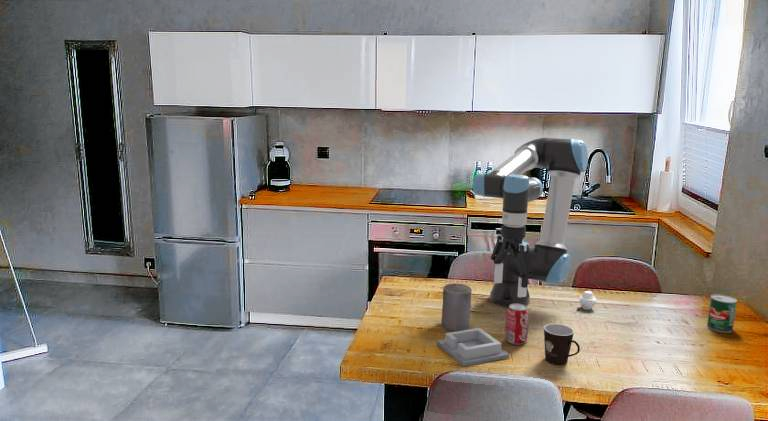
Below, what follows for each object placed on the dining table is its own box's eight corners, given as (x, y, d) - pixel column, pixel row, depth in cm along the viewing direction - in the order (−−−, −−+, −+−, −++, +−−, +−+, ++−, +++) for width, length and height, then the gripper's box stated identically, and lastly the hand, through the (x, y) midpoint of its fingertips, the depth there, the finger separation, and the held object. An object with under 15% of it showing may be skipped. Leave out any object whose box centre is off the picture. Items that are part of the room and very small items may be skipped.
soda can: (527, 338, 184) (530, 304, 182) (525, 347, 178) (528, 312, 175) (506, 335, 187) (508, 301, 184) (503, 344, 180) (505, 308, 178)
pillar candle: (440, 319, 199) (442, 279, 196) (468, 320, 199) (470, 280, 195) (442, 331, 189) (444, 289, 186) (471, 332, 189) (473, 289, 186)
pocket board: (480, 336, 185) (481, 325, 184) (508, 357, 171) (509, 344, 170) (437, 344, 179) (437, 332, 178) (463, 366, 165) (463, 353, 164)
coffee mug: (537, 354, 173) (539, 324, 171) (564, 353, 174) (567, 323, 172) (551, 372, 162) (554, 340, 160) (580, 371, 163) (583, 339, 161)
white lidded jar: (597, 311, 209) (599, 293, 208) (581, 311, 209) (582, 293, 208) (592, 305, 215) (593, 288, 214) (576, 305, 215) (577, 287, 214)
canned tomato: (731, 326, 198) (735, 296, 196) (734, 334, 191) (739, 303, 189) (705, 322, 201) (709, 292, 199) (707, 330, 194) (712, 299, 192)
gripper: (482, 217, 185) (479, 278, 189) (527, 234, 162) (522, 304, 166) (502, 215, 188) (498, 276, 192) (548, 233, 165) (543, 301, 169)
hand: (509, 289), depth 179 cm, fingers open, 13 cm apart
